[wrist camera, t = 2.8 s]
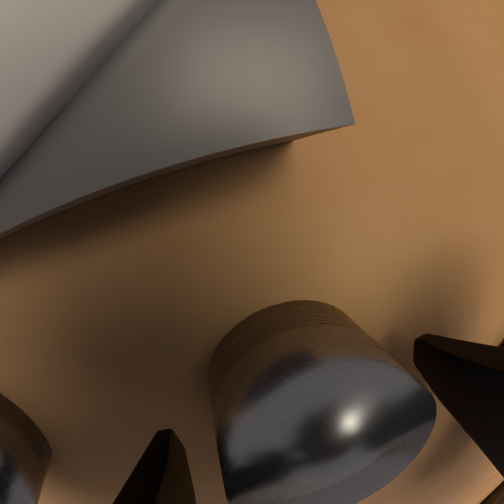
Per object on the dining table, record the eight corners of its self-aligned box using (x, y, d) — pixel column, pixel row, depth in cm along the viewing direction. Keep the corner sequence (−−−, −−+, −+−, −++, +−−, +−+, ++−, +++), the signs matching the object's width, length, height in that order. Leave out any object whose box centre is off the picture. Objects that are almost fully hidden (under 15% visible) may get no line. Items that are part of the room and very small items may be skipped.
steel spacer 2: (363, 396, 10) (421, 468, 6) (234, 443, 9) (258, 536, 6) (353, 276, 8) (449, 340, 5) (183, 332, 8) (185, 446, 4)
